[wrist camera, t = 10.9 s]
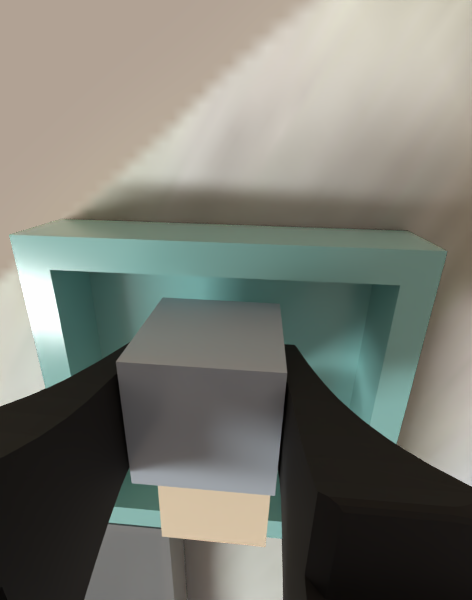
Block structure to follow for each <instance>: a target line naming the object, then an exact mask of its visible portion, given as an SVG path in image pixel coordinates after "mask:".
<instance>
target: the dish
mask: <svg viewBox="0 0 472 600" xmlns="http://www.w3.org/2000/svg"><path fill="white" fill-rule="evenodd" d="M9 237H10V241H11V244H12V249H13V253H14V257H15V262H16V266H17V270H18V274H19V279H20V283H21V287H22V291H23V295H24V300H25V304H26V308H27V312H28V316H29V321H30V325H31V329H32V333H33V337H34V341H35V346H36V350H37V354H38V358H39V362H40V367H41V371H42V375H43V379H44V383H45V388H48V387H50V386H53V385H55V384H57V383H59V382H61V381H63V380H65V379H67V378H69V377H71V376H73V375H74V374H76V373H78V372H80V371H82V370H84V369H85V368H87V367H89V366H91V365H93V364H94V363H96V362H98V361H100V360H101V359H103V358H105V357H106V356H108V355H110V354H111V353H113V352H114V351H116V350H118V349H119V348H121V347H123V346H124V345H126V344H128V343H129V342H131V340H132V339H133V337H134V336H135V335H136V333H137V332H138V331H139V329H140V328H141V326H142V325H143V324H144V322H145V321H146V320H147V318H148V317H149V315H150V314H151V313H152V311H153V310H154V309H155V307H156V306H157V304H158V303H159V302H160V300H161V299H162V298H163V297H165V298H183V299H202V300H221V301H239V302H258V303H277V304H280V309H281V318H282V328H283V337H284V344H291V345H295V346H296V347H297V348H298V349H299V351H300V352H301V354H302V355H303V357H304V358H305V360H306V361H307V362H308V364H309V365H310V366H311V368H312V369H313V370H314V372H315V373H316V374H317V375H318V376H319V378H320V379H321V380H322V381H323V382H324V384H325V385H326V386H327V387H328V388H329V389H330V390H331V391H332V392H333V393H334V394H335V396H336V397H337V398H338V399H339V400H341V401H342V402H343V403H344V404H345V405H346V406H347V407H348V408H349V409H350V410H352V411H353V412H354V413H355V414H356V415H357V416H359V417H360V418H361V419H362V420H363V421H365V422H366V423H367V424H369V425H370V426H371V427H373V428H374V429H375V430H377V431H378V432H379V433H381V434H382V435H384V436H385V437H386V438H388V439H389V440H391V441H392V442H394V443H395V444H397V440H398V436H399V433H400V429H401V425H402V421H403V418H404V414H405V410H406V406H407V402H408V399H409V395H410V391H411V387H412V384H413V380H414V376H415V372H416V369H417V365H418V361H419V357H420V353H421V350H422V346H423V342H424V338H425V335H426V331H427V327H428V323H429V319H430V316H431V312H432V308H433V304H434V301H435V297H436V293H437V289H438V286H439V282H440V278H441V274H442V270H443V267H444V263H445V259H446V255H447V252H448V251H446V250H444V249H442V248H440V247H438V246H437V245H435V244H433V243H431V242H429V241H427V240H425V239H423V238H421V237H419V236H417V235H415V234H413V233H411V232H409V231H403V230H374V229H345V228H315V227H286V226H257V225H227V224H198V223H168V222H139V221H110V220H80V219H60V220H57V221H53V222H50V223H46V224H43V225H40V226H36V227H33V228H30V229H27V230H23V231H20V232H16V233H13V234H10V235H9ZM109 523H119V524H130V525H140V526H151V527H161V519H160V507H159V495H158V486H156V485H145V484H134V483H132V482H131V474H130V467H129V470H128V472H127V474H126V476H125V479H124V481H123V484H122V486H121V489H120V491H119V494H118V497H117V500H116V503H115V506H114V508H113V511H112V514H111V517H110V520H109ZM266 537H270V538H281V539H282V519H281V494H280V483H279V475H278V471H277V481H276V491H275V496H270V505H269V515H268V525H267V535H266Z"/></svg>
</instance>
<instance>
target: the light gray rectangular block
mask: <svg viewBox="0 0 472 600" xmlns="http://www.w3.org/2000/svg"><path fill="white" fill-rule="evenodd" d="M116 367H117V375H118V382H119V390H120V398H121V405H122V413H123V421H124V428H125V436H126V444H127V451H128V459H129V467H130V474H131V482H132V483H134V484H145V485H156V486H168V487H179V488H190V489H202V490H213V491H225V492H236V493H247V494H259V495H270V496H275V491H276V481H277V471H278V461H279V451H280V441H281V431H282V421H283V411H284V401H285V391H286V381H287V366H286V356H285V347H284V337H283V328H282V318H281V309H280V304H277V303H258V302H239V301H221V300H202V299H183V298H165V297H163V298H162V299H161V300H160V302H159V303H158V304H157V306H156V307H155V309H154V310H153V311H152V313H151V314H150V315H149V317H148V318H147V320H146V321H145V322H144V324H143V325H142V326H141V328H140V329H139V331H138V332H137V333H136V335H135V336H134V337H133V339H132V340H131V342H130V343H129V344H128V346H127V347H126V348H125V350H124V351H123V353H122V354H121V355H120V357H119V358H118V359H117V361H116Z"/></svg>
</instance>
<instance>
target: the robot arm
mask: <svg viewBox="0 0 472 600" xmlns="http://www.w3.org/2000/svg"><path fill="white" fill-rule="evenodd" d="M129 343H130V342H129ZM129 343H128V344H129ZM128 344H126V345H124V346H123V347H121V348H119V349H118V350H116V351H114V352H113V353H111V354H110V355H108V356H106V357H105V358H103V359H101V360H100V361H98V362H96V363H94V364H93V365H91V366H89V367H87V368H85V369H84V370H82V371H80V372H78V373H76V374H74V375H73V376H71V377H69V378H67V379H65V380H63V381H61V382H59V383H57V384H55V385H53V386H50V387H48V388H46V389H44V390H41V391H39V392H37V393H35V394H32V395H30V396H27V397H25V398H22V399H19V400H17V401H14V402H11V403H9V404H6V405H3V406H1V407H0V600H84V599H85V595H86V592H87V589H88V586H89V582H90V579H91V576H92V573H93V569H94V566H95V563H96V560H97V556H98V553H99V550H100V547H101V544H102V541H103V538H104V535H105V532H106V529H107V526H108V523H109V520H110V517H111V514H112V511H113V508H114V506H115V503H116V500H117V497H118V494H119V491H120V489H121V486H122V484H123V481H124V479H125V476H126V474H127V472H128V470H129V459H128V451H127V444H126V436H125V428H124V421H123V413H122V405H121V398H120V390H119V382H118V375H117V367H116V361H117V359H118V358H119V357H120V355H121V354H122V353H123V351H124V350H125V348H126V347H127V346H128ZM284 347H285V356H286V366H287V381H286V391H285V401H284V411H283V421H282V431H281V441H280V451H279V461H278V475H279V483H280V494H281V519H282V562H283V600H472V487H471V486H469V485H467V484H465V483H463V482H462V481H460V480H458V479H456V478H454V477H452V476H450V475H448V474H446V473H444V472H442V471H441V470H439V469H437V468H435V467H433V466H431V465H429V464H427V463H426V462H424V461H422V460H421V459H419V458H417V457H416V456H414V455H413V454H411V453H409V452H408V451H406V450H404V449H403V448H401V447H400V446H398V445H397V444H395V443H394V442H392V441H391V440H389V439H388V438H386V437H385V436H384V435H382V434H381V433H379V432H378V431H377V430H375V429H374V428H373V427H371V426H370V425H369V424H367V423H366V422H365V421H363V420H362V419H361V418H360V417H359V416H357V415H356V414H355V413H354V412H353V411H352V410H350V409H349V408H348V407H347V406H346V405H345V404H344V403H343V402H342V401H341V400H339V399H338V398H337V397H336V396H335V394H334V393H333V392H332V391H331V390H330V389H329V388H328V387H327V386H326V385H325V384H324V382H323V381H322V380H321V379H320V378H319V376H318V375H317V374H316V373H315V372H314V370H313V369H312V368H311V366H310V365H309V364H308V362H307V361H306V360H305V358H304V357H303V355H302V354H301V352H300V351H299V349H298V348H297V347H296V346H295V345H291V344H284Z"/></svg>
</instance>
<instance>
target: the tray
mask: <svg viewBox="0 0 472 600" xmlns="http://www.w3.org/2000/svg"><path fill="white" fill-rule="evenodd" d="M84 600H187V586H186V570H185V553H184V539H181V538H171V537H162V531H161V527H151V526H140V525H130V524H119V523H108V526H107V529H106V532H105V535H104V538H103V541H102V544H101V547H100V550H99V553H98V556H97V560H96V563H95V566H94V569H93V573H92V576H91V579H90V582H89V586H88V589H87V592H86V595H85V599H84Z"/></svg>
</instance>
